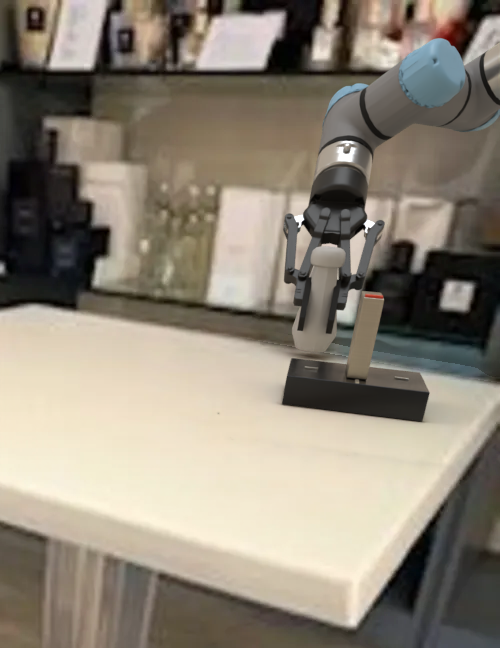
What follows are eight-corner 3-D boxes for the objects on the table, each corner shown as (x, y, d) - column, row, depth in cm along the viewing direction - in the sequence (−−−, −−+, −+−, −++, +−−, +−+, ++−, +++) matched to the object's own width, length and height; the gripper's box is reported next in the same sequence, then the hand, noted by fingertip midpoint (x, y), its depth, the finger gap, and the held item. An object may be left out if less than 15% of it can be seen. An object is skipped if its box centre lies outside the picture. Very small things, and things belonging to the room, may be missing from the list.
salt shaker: (297, 352, 116) (316, 247, 110) (283, 344, 121) (300, 243, 115) (339, 354, 117) (360, 249, 111) (323, 346, 122) (342, 246, 116)
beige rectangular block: (345, 366, 96) (362, 288, 93) (364, 369, 96) (382, 290, 92) (346, 377, 91) (364, 294, 87) (366, 380, 90) (385, 296, 87)
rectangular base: (413, 399, 98) (420, 370, 96) (422, 421, 88) (430, 390, 87) (286, 384, 101) (291, 356, 100) (281, 404, 91) (287, 373, 90)
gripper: (283, 160, 119) (255, 300, 112) (406, 167, 116) (385, 313, 109) (278, 203, 126) (251, 337, 119) (395, 210, 123) (374, 350, 115)
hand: (315, 325), depth 114 cm, fingers closed on salt shaker, 3 cm apart
